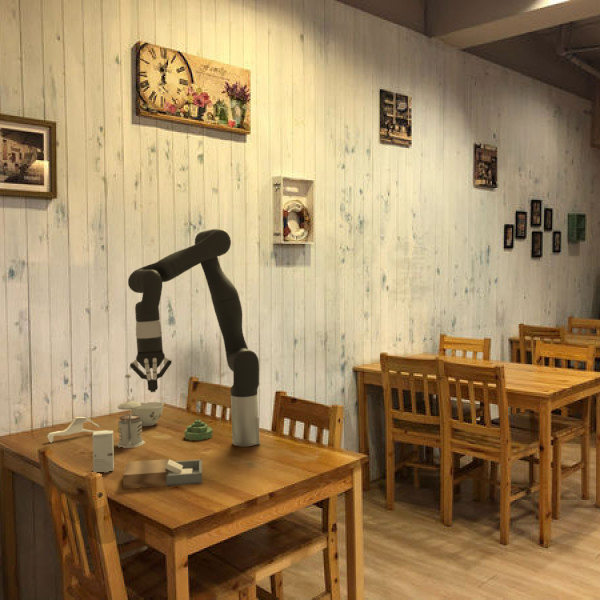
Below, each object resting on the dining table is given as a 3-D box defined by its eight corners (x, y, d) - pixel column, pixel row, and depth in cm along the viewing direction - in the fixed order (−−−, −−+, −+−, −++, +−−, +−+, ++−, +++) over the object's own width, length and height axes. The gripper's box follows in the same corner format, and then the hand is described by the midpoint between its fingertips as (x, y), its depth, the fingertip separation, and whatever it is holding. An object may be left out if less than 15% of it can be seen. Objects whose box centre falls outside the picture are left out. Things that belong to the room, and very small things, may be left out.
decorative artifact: (192, 442, 226) (217, 437, 231) (191, 423, 225) (216, 418, 231) (180, 436, 234) (205, 431, 239) (179, 417, 233) (204, 413, 239)
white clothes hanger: (90, 450, 241) (45, 441, 230) (100, 420, 243) (55, 410, 232) (92, 451, 239) (46, 442, 228) (102, 421, 242) (57, 411, 230)
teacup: (170, 424, 251) (169, 404, 251) (141, 430, 243) (140, 410, 242) (151, 417, 262) (150, 398, 262) (123, 423, 254) (122, 404, 253)
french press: (146, 439, 231) (143, 370, 229) (143, 448, 220) (140, 376, 218) (118, 441, 229) (115, 372, 228) (114, 450, 218) (111, 378, 216)
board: (169, 471, 194) (168, 459, 194) (166, 485, 182) (166, 471, 182) (128, 474, 192) (128, 461, 192) (123, 489, 180) (123, 475, 180)
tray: (202, 468, 196) (201, 459, 196) (202, 483, 183) (201, 473, 183) (169, 471, 195) (168, 461, 194) (166, 486, 182) (166, 475, 182)
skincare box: (93, 473, 194) (91, 434, 193) (94, 469, 199) (92, 431, 198) (114, 471, 196) (112, 433, 195) (114, 467, 200) (113, 429, 199)
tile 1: (180, 470, 189) (183, 465, 189) (179, 474, 185) (181, 470, 185) (167, 463, 189) (169, 459, 189) (165, 468, 184) (167, 463, 184)
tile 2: (177, 469, 190) (177, 474, 190) (176, 474, 186) (176, 479, 186) (192, 468, 191) (192, 473, 191) (191, 473, 186) (191, 478, 186)
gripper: (171, 332, 198) (175, 387, 199) (127, 335, 196) (131, 391, 197) (171, 335, 191) (175, 392, 192) (125, 338, 188) (129, 396, 190)
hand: (153, 391), depth 195 cm, fingers closed
